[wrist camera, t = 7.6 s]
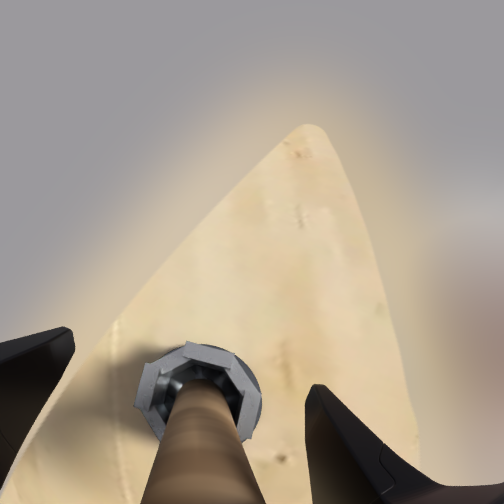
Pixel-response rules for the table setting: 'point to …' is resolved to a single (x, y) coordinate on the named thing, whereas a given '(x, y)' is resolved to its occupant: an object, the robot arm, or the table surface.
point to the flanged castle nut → (199, 367)
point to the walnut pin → (201, 453)
